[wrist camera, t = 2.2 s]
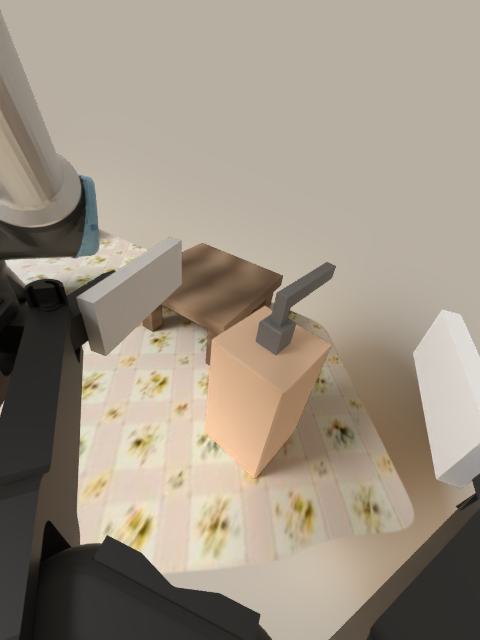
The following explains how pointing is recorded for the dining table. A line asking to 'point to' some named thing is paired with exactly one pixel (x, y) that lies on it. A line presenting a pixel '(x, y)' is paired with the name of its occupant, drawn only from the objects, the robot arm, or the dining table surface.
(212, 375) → the soap dispenser
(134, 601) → the robot arm
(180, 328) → the dining table surface
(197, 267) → the walnut stool
